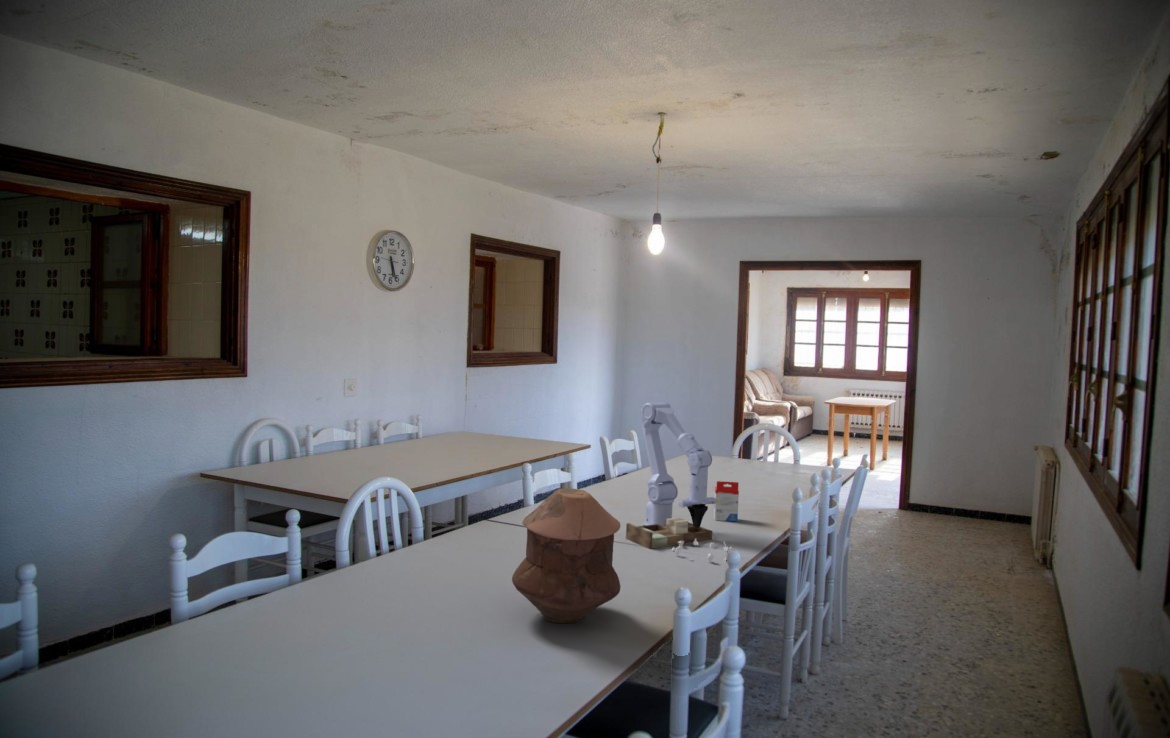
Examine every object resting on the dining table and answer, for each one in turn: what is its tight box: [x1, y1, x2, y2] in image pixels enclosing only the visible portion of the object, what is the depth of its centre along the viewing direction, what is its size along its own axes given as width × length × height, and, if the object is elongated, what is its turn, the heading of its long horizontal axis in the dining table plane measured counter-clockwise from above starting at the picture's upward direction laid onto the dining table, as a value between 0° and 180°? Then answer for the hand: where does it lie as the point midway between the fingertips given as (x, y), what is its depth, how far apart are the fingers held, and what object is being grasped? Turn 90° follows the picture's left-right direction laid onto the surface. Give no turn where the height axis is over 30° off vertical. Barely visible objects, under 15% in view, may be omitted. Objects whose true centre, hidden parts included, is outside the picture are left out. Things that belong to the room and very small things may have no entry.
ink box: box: [713, 480, 740, 523], centre depth 284 cm, size 8×5×15 cm, turn 84°
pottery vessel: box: [511, 487, 621, 624], centre depth 180 cm, size 26×26×30 cm
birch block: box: [666, 517, 689, 534], centre depth 252 cm, size 5×5×4 cm
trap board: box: [625, 521, 713, 550], centre depth 254 cm, size 15×26×5 cm, turn 122°
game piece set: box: [671, 539, 734, 564], centre depth 238 cm, size 19×20×4 cm
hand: (696, 526), depth 256 cm, fingers closed
